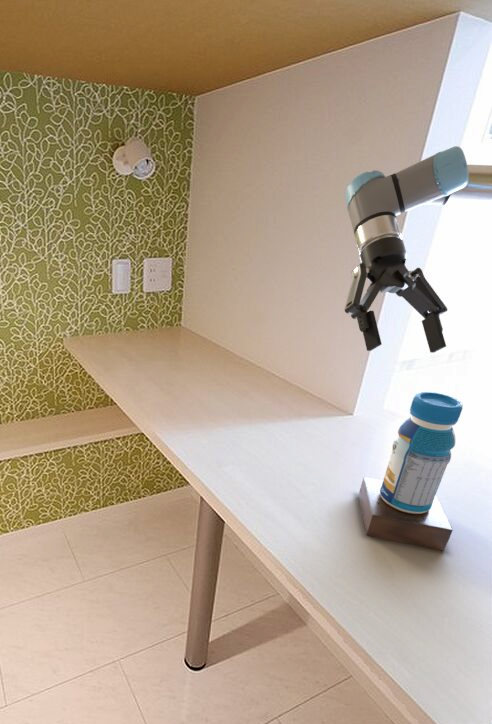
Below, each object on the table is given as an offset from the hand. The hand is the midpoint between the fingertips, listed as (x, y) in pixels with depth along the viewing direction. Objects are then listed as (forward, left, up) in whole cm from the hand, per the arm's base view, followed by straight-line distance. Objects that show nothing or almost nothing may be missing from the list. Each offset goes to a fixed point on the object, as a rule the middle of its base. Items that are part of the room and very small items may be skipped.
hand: (406, 348), depth 78 cm
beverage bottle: (-4, +11, -25) cm, 28 cm away
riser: (-4, +11, -29) cm, 31 cm away
